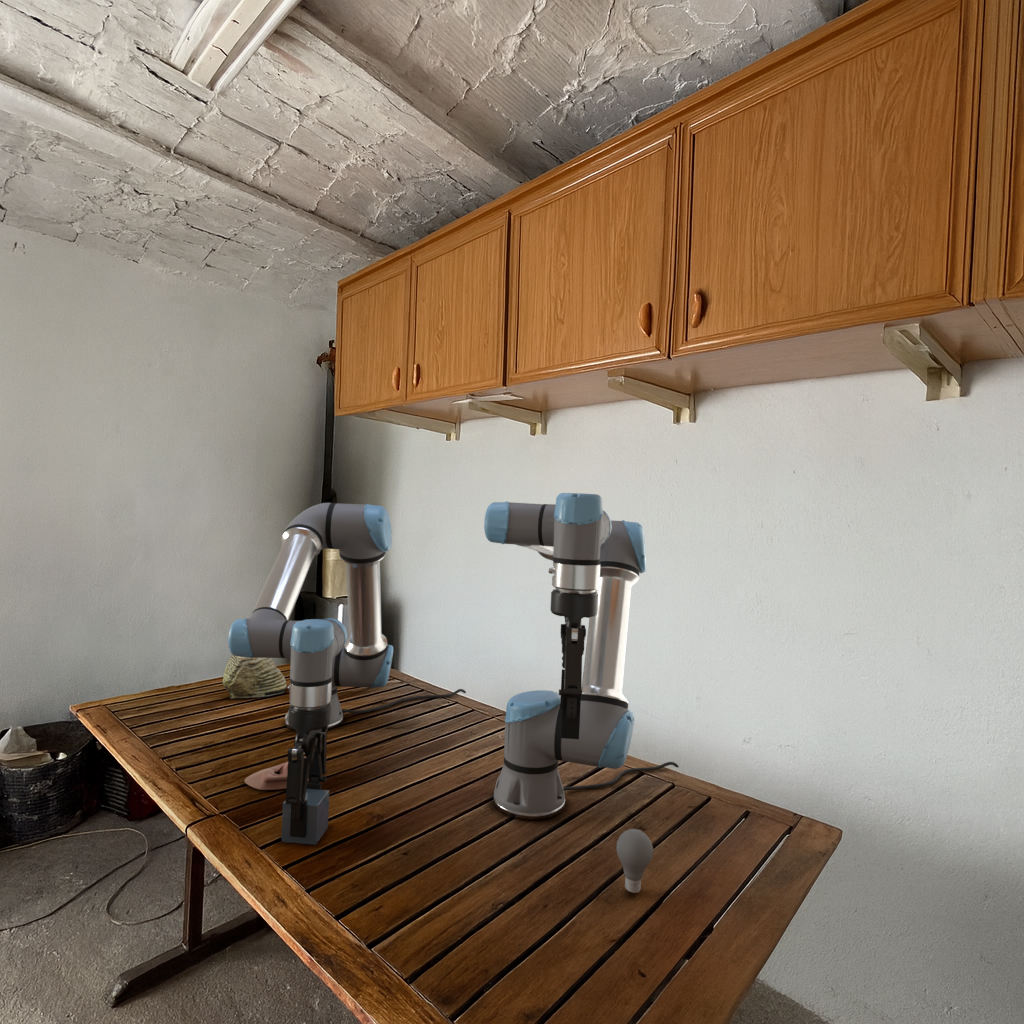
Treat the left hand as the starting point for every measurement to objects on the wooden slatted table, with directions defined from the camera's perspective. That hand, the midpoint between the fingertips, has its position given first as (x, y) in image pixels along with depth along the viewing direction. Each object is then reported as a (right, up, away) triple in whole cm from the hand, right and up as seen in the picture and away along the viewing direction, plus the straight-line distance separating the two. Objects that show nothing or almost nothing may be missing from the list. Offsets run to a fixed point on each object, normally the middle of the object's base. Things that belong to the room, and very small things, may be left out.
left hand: (305, 826), depth 119 cm
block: (0, -2, 0) cm, 2 cm away
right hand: (+48, +25, -17) cm, 57 cm away
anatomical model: (-13, -1, +22) cm, 25 cm away
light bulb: (+59, -4, -13) cm, 60 cm away
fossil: (-42, +2, +79) cm, 90 cm away
